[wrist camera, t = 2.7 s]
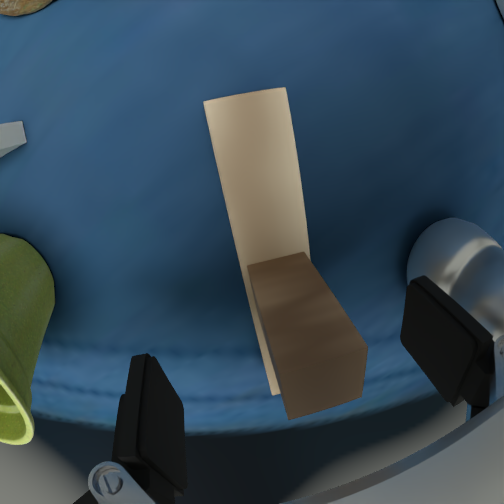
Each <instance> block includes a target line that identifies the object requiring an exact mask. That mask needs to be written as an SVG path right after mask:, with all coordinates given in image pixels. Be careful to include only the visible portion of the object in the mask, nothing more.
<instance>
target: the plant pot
mask: <svg viewBox="0 0 504 504" xmlns="http://www.w3.org/2000/svg"><path fill="white" fill-rule="evenodd" d="M54 305H55V293H54V280H53V277H52V274H51V272H50V270H49V268H48V266H47V264H46V262H45V261H44V260H43V258H42V257H41V255H40V254H39V253H38V252H37V251H36V250H35V249H34V248H33V247H32V246H31V245H30V244H29V243H27V242H26V241H24V240H23V239H19V238H15V237H11V236H7V235H5V234H0V441H1V442H4V443H8V444H13V445H21V444H26V443H28V442H29V441H31V439H32V437H33V433H34V421H33V418H32V415H31V412H30V409H31V402H32V394H31V389H30V387H31V383H32V378H33V374H34V370H35V366H36V362H37V358H38V355H39V351H40V347H41V344H42V341H43V337H44V334H45V331H46V328H47V326H48V323H49V320H50V317H51V314H52V311H53V308H54Z"/></svg>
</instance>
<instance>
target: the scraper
mask: <svg viewBox="0 0 504 504" xmlns="http://www.w3.org/2000/svg"><path fill="white" fill-rule="evenodd" d="M203 103H204V109H205V114H206V118H207V123H208V127H209V132H210V137H211V141H212V146H213V150H214V155H215V159H216V164H217V168H218V173H219V177H220V181H221V186H222V190H223V195H224V199H225V203H226V208H227V212H228V216H229V221H230V225H231V229H232V234H233V238H234V242H235V246H236V251H237V255H238V259H239V263H240V268H241V272H242V276H243V280H244V284H245V289H246V293H247V297H248V301H249V305H250V309H251V313H252V317H253V322H254V326H255V330H256V334H257V338H258V342H259V346H260V350H261V354H262V358H263V362H264V366H265V370H266V373H267V377H268V381H269V385H270V389H271V392H272V395H276V394H280V393H281V396H282V400H283V403H284V406H285V410H286V413H287V417H288V420H291V419H295V418H298V417H302V416H305V415H309V414H312V413H316V412H319V411H322V410H325V409H328V408H331V407H334V406H337V405H340V404H343V403H346V402H349V401H352V400H355V399H357V398H360V397H362V391H363V384H364V377H365V369H366V361H367V352H368V346H367V345H366V343H365V341H364V340H363V338H362V337H361V335H360V334H359V332H358V331H357V329H356V328H355V326H354V325H353V323H352V321H351V320H350V318H349V317H348V315H347V314H346V312H345V311H344V309H343V308H342V306H341V305H340V303H339V302H338V300H337V299H336V297H335V296H334V294H333V293H332V291H331V290H330V288H329V287H328V286H327V284H326V283H325V281H324V280H323V278H322V277H321V275H320V274H319V272H318V271H317V269H316V268H315V267H314V265H313V264H312V262H311V260H310V250H309V241H308V232H307V224H306V216H305V208H304V200H303V192H302V185H301V178H300V171H299V164H298V158H297V151H296V145H295V139H294V132H293V127H292V121H291V115H290V109H289V104H288V98H287V93H286V87H283V88H275V89H268V90H262V91H255V92H249V93H243V94H238V95H232V96H227V97H222V98H217V99H213V100H208V101H204V102H203Z"/></svg>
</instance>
